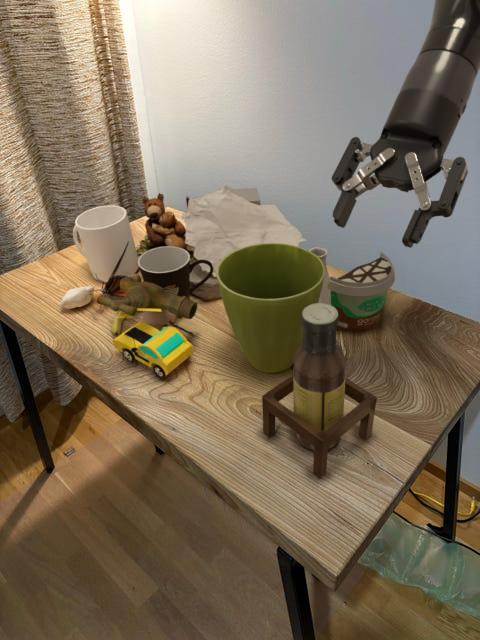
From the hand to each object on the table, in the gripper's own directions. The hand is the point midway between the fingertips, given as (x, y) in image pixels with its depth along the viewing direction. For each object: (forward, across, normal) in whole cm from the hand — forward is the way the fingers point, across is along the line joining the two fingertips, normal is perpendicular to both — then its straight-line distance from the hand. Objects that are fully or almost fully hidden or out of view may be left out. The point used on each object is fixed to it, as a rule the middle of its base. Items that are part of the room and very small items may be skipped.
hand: (371, 234), depth 61 cm
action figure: (+15, -34, +12) cm, 39 cm away
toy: (0, -36, +29) cm, 46 cm away
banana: (+24, -41, +10) cm, 49 cm away
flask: (+7, -16, +29) cm, 34 cm away
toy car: (+26, -29, +9) cm, 40 cm away
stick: (+19, -28, +12) cm, 36 cm away
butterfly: (+20, -48, +11) cm, 54 cm away
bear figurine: (+9, -49, +26) cm, 56 cm away
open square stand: (+25, 0, +11) cm, 27 cm away
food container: (+7, -6, +29) cm, 30 cm away
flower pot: (+18, -14, +17) cm, 29 cm away
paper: (-9, -40, +23) cm, 47 cm away
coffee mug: (+18, -34, +18) cm, 43 cm away
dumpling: (+24, -50, +11) cm, 57 cm away
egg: (+18, -34, +14) cm, 41 cm away
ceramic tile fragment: (+14, -36, +18) cm, 43 cm away
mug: (+17, -55, +19) cm, 60 cm away
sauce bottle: (+25, 0, +11) cm, 27 cm away
